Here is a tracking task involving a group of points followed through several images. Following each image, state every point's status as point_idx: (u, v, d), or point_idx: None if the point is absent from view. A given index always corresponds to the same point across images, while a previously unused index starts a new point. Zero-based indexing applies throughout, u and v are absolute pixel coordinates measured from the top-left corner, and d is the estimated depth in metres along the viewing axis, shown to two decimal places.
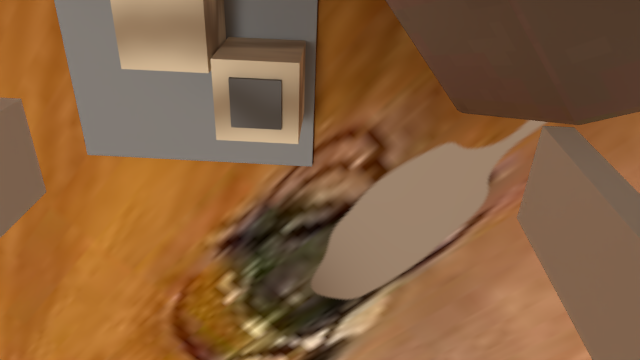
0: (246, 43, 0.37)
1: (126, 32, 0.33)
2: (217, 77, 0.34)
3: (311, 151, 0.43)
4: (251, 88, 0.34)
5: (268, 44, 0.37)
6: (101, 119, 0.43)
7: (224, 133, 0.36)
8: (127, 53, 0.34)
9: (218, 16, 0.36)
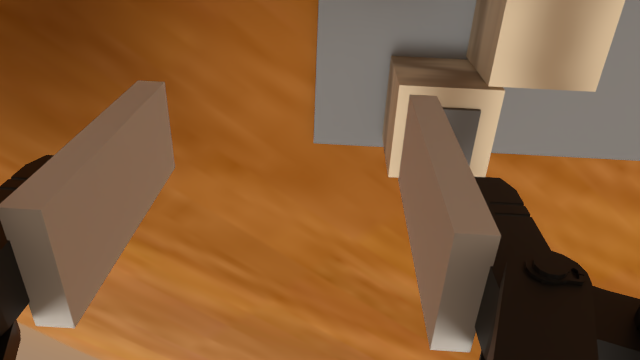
0: None
1: (554, 76, 0.28)
2: None
3: None
4: None
5: None
6: (628, 136, 0.36)
7: None
8: (578, 80, 0.28)
9: None
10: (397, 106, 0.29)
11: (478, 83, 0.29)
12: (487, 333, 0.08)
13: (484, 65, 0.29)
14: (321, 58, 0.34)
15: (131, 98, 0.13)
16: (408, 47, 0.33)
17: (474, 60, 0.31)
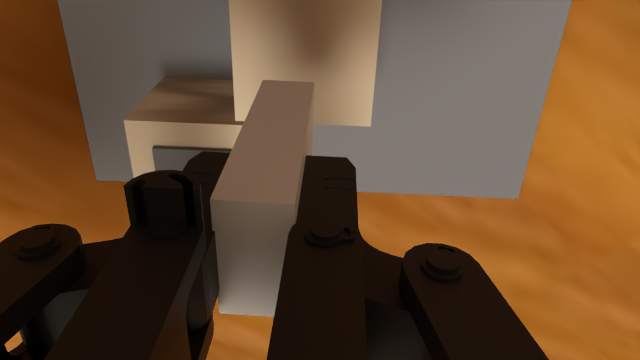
0: None
1: (314, 108, 0.22)
2: None
3: None
4: None
5: None
6: (466, 169, 0.30)
7: None
8: (346, 113, 0.22)
9: None
10: (129, 146, 0.23)
11: (232, 116, 0.23)
12: None
13: None
14: (80, 81, 0.28)
15: (267, 97, 0.13)
16: (182, 66, 0.27)
17: None
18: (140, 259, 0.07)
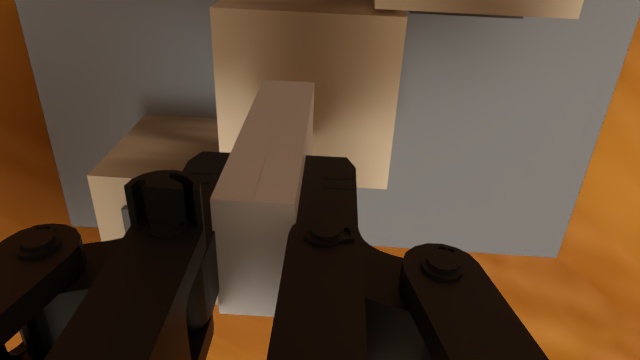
0: None
1: None
2: None
3: None
4: None
5: None
6: (497, 224, 0.26)
7: None
8: (357, 173, 0.18)
9: None
10: (95, 204, 0.19)
11: None
12: None
13: None
14: (50, 117, 0.24)
15: (267, 97, 0.13)
16: (167, 102, 0.23)
17: None
18: (140, 259, 0.07)
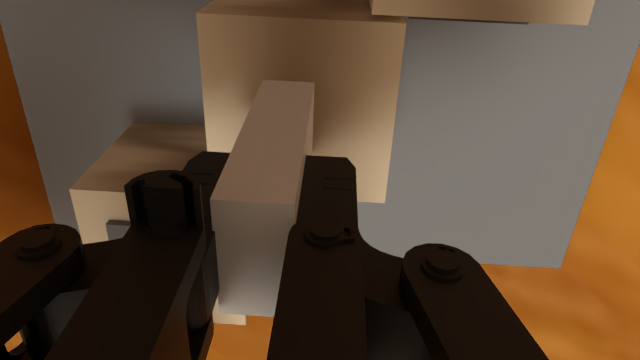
0: None
1: None
2: (418, 2, 0.14)
3: None
4: None
5: None
6: (498, 234, 0.25)
7: (573, 1, 0.14)
8: None
9: None
10: (78, 219, 0.18)
11: None
12: None
13: None
14: (34, 125, 0.23)
15: (267, 97, 0.13)
16: (156, 110, 0.22)
17: None
18: (140, 259, 0.07)
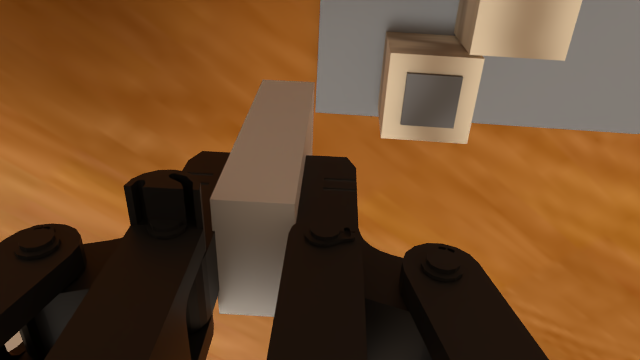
0: None
1: (528, 46, 0.31)
2: None
3: None
4: None
5: None
6: (602, 109, 0.39)
7: None
8: (549, 50, 0.31)
9: None
10: (389, 72, 0.33)
11: (461, 53, 0.33)
12: None
13: (467, 37, 0.33)
14: (323, 33, 0.38)
15: (267, 97, 0.13)
16: (402, 23, 0.37)
17: (459, 34, 0.35)
18: (140, 259, 0.07)
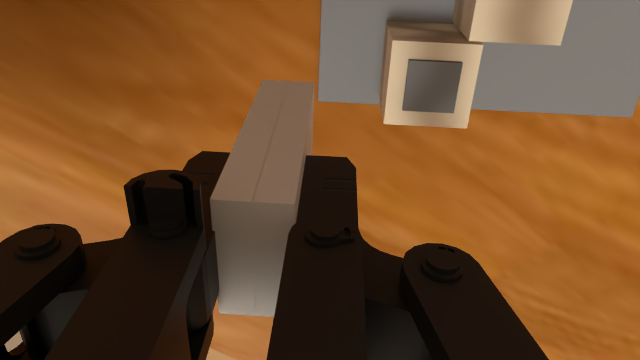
0: None
1: (525, 32, 0.33)
2: None
3: None
4: None
5: None
6: (596, 93, 0.41)
7: None
8: (546, 35, 0.33)
9: None
10: (391, 59, 0.34)
11: (460, 40, 0.34)
12: None
13: (466, 24, 0.34)
14: (325, 23, 0.39)
15: (268, 97, 0.13)
16: (401, 12, 0.38)
17: (458, 22, 0.36)
18: (140, 259, 0.07)
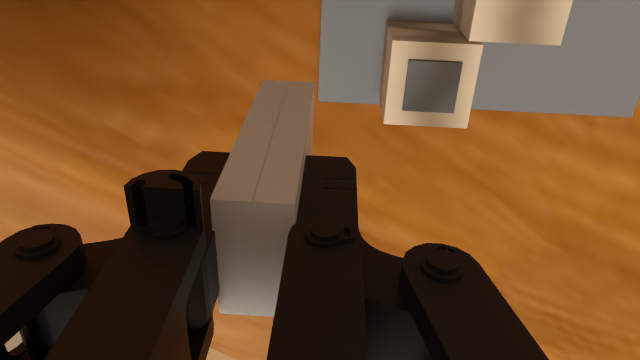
0: None
1: (525, 32, 0.33)
2: None
3: None
4: None
5: None
6: (596, 93, 0.41)
7: None
8: (546, 35, 0.33)
9: None
10: (391, 59, 0.34)
11: (460, 40, 0.34)
12: None
13: (466, 24, 0.34)
14: (325, 23, 0.39)
15: (268, 97, 0.13)
16: (401, 12, 0.38)
17: (458, 22, 0.36)
18: (140, 259, 0.07)
